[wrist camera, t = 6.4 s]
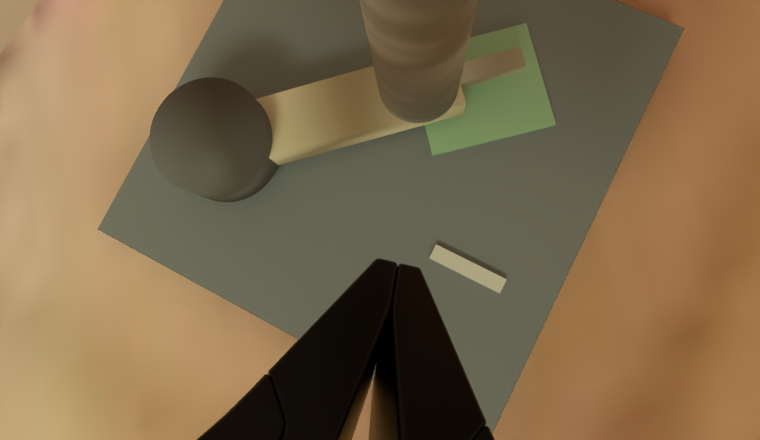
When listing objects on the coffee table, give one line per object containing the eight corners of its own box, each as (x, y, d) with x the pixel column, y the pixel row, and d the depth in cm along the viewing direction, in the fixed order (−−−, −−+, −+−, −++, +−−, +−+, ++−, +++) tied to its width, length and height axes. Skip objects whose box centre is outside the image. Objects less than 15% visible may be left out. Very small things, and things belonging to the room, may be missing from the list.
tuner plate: (484, 433, 18) (488, 444, 17) (113, 231, 20) (94, 228, 19) (670, 40, 19) (687, 25, 18) (300, -110, 22) (293, -133, 20)
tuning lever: (189, 214, 19) (-85, 144, 8) (168, 113, 19) (-111, -64, 9) (532, 121, 18) (681, -77, 8) (500, 19, 18) (601, -289, 8)
